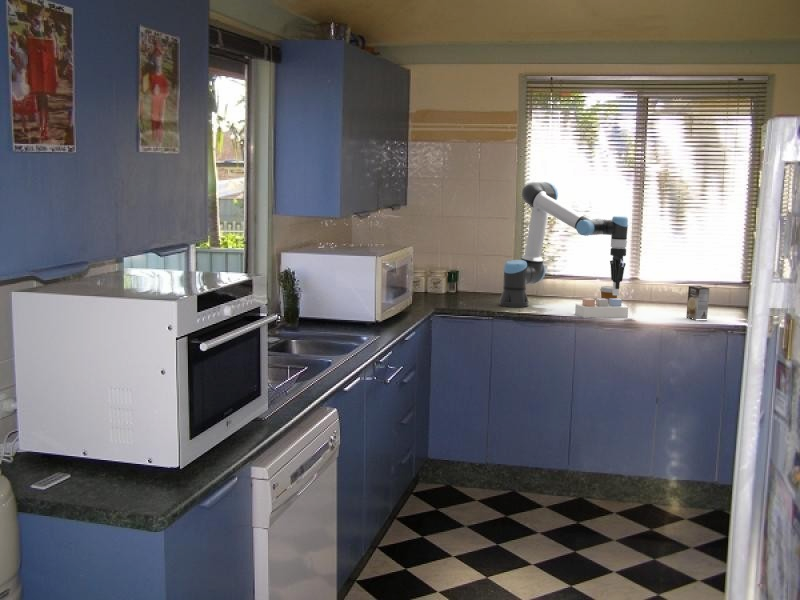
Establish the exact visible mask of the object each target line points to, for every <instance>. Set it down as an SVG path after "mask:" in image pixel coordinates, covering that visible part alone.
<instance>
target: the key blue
mask: <svg viewBox="0 0 800 600" xmlns="http://www.w3.org/2000/svg"><path fill="white" fill-rule="evenodd" d="M609 305H610V306H621V305H622V299H621V298H619V297H617V298H609Z"/></svg>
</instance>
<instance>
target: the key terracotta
mask: <svg viewBox="0 0 800 600" xmlns="http://www.w3.org/2000/svg"><path fill="white" fill-rule="evenodd" d="M581 304H582V305H583V306H585V307H595V304H596V299H594V298H592V297H591V298H590V297H589V298H587V297H586V298H582V303H581Z"/></svg>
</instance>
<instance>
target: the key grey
mask: <svg viewBox="0 0 800 600" xmlns="http://www.w3.org/2000/svg"><path fill="white" fill-rule="evenodd" d="M595 304H596V306H599V307H601V306H608V299H605V298H597V297H596V298H595Z"/></svg>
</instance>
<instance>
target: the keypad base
mask: <svg viewBox="0 0 800 600" xmlns="http://www.w3.org/2000/svg"><path fill="white" fill-rule="evenodd" d="M574 309H575V310H574V314H575V315H576V314H578V315H577V316H579V315H580V316H579V317H581V316H582V317H581V318H583V319H584V318H586V319H587V318H589V319H590V317H597V318H628V316H629V307H628V306H626V305H624V304H621V306H610V305H609V304H608V306H601V307H599V306H596V303H595V307H585V306H583V305H582V303H575V307H574Z"/></svg>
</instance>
